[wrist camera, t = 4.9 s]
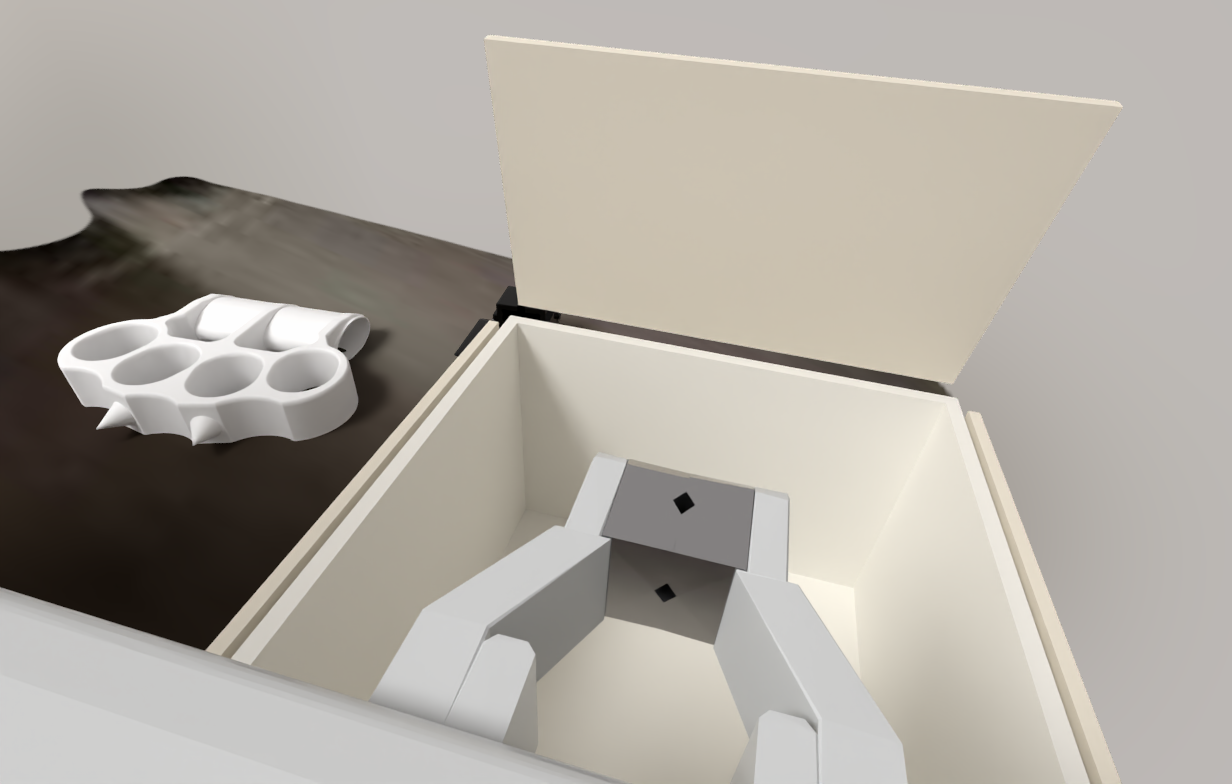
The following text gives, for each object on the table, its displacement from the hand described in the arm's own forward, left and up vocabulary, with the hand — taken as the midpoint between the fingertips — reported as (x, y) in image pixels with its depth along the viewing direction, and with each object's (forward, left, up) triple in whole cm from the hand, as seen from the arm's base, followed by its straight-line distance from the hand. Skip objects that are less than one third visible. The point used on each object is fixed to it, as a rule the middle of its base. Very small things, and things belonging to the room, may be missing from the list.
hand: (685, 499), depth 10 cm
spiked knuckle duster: (-31, +19, -19) cm, 41 cm away
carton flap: (0, +13, 0) cm, 13 cm away
